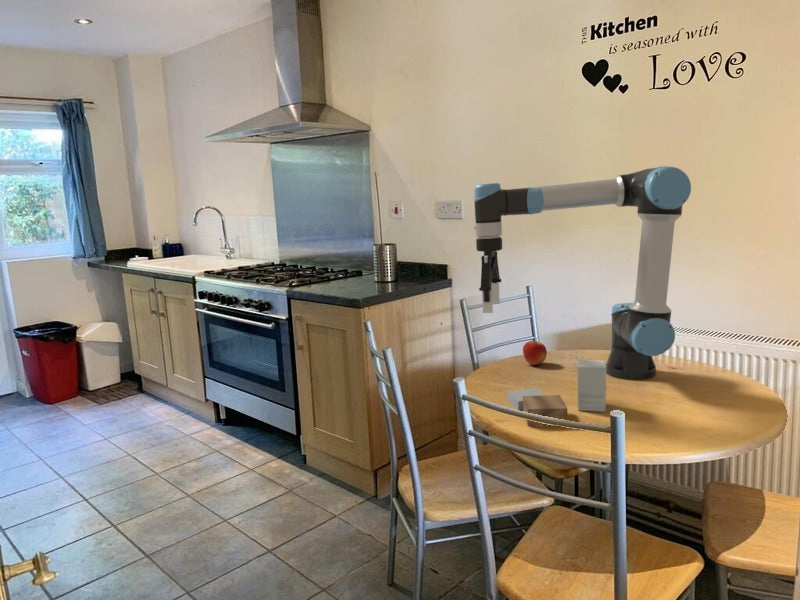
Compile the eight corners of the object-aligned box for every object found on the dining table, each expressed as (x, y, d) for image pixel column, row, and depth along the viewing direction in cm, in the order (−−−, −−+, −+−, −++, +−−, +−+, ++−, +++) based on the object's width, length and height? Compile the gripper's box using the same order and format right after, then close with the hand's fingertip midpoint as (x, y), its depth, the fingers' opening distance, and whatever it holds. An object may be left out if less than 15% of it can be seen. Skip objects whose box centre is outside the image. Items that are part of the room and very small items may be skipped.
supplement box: (605, 403, 161) (605, 359, 159) (605, 412, 154) (606, 367, 152) (578, 401, 163) (578, 358, 161) (577, 410, 156) (577, 366, 154)
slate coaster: (536, 397, 169) (536, 388, 169) (548, 408, 161) (548, 397, 160) (507, 401, 168) (507, 391, 168) (518, 411, 159) (518, 401, 159)
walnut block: (560, 412, 157) (559, 395, 156) (567, 426, 147) (567, 408, 146) (523, 413, 158) (522, 395, 157) (528, 427, 148) (527, 409, 147)
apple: (522, 361, 205) (521, 334, 204) (545, 361, 204) (545, 334, 202) (523, 368, 197) (523, 340, 196) (548, 367, 196) (547, 339, 194)
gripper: (483, 234, 180) (486, 300, 184) (467, 241, 157) (471, 316, 161) (507, 233, 178) (509, 300, 181) (495, 240, 155) (498, 316, 158)
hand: (491, 308), depth 171 cm, fingers open, 13 cm apart
